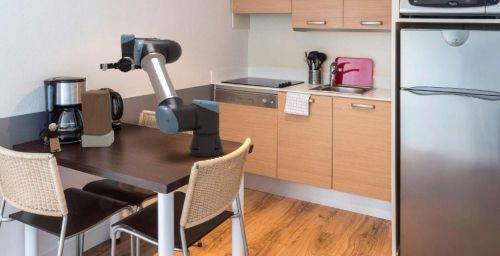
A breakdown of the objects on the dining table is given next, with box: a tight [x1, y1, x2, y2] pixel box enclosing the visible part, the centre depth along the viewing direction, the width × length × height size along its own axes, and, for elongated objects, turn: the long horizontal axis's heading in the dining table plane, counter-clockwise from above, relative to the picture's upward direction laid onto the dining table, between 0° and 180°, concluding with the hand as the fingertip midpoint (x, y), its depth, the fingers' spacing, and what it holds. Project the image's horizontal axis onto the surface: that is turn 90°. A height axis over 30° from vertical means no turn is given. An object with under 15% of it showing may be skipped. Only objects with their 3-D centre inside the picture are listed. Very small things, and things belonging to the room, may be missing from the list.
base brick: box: [81, 129, 115, 148], centre depth 212 cm, size 12×12×5 cm
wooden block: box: [80, 89, 113, 135], centre depth 210 cm, size 10×10×20 cm
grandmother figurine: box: [43, 122, 64, 153], centre depth 197 cm, size 8×4×13 cm, turn 135°
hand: (117, 67), depth 215 cm, fingers open, 13 cm apart
